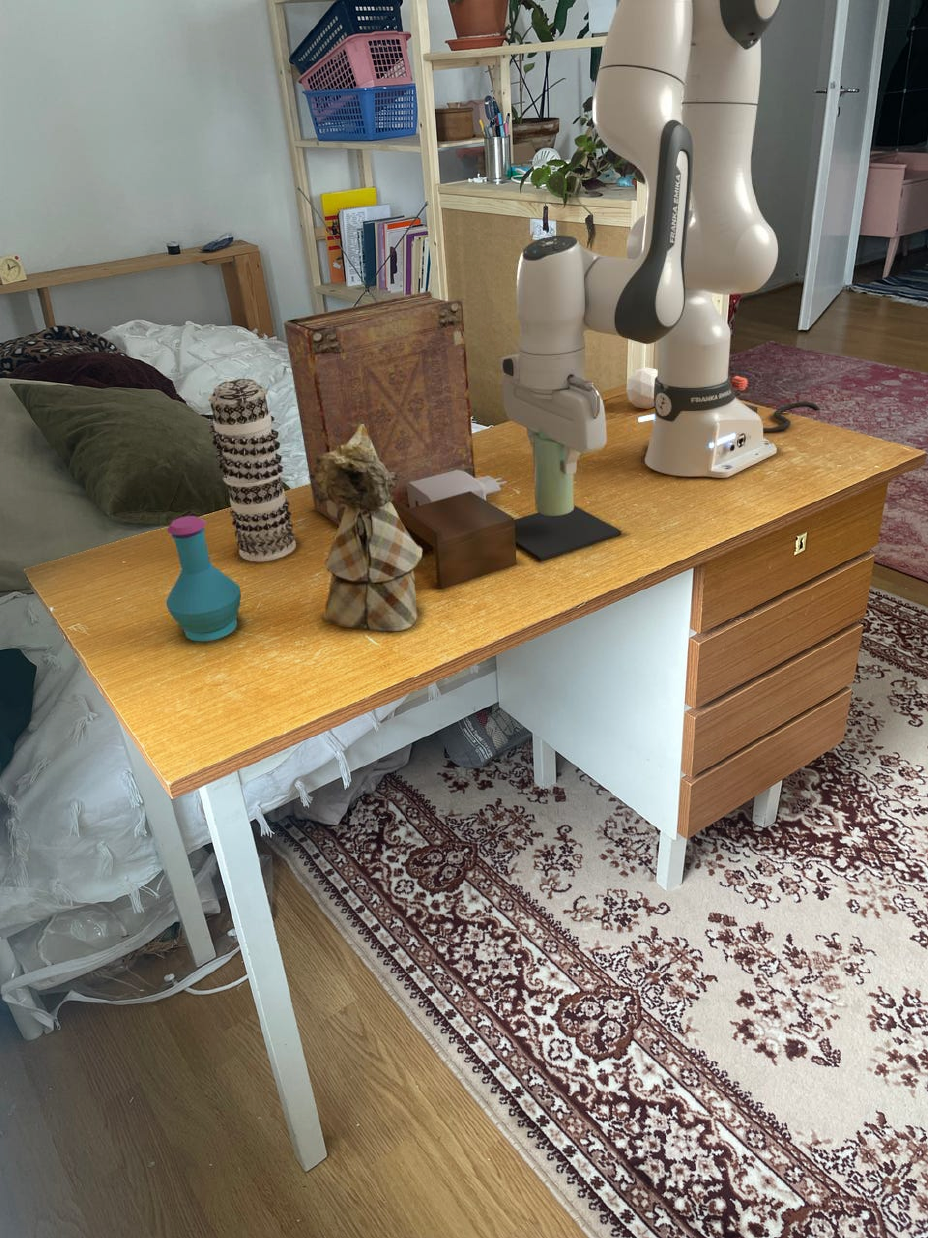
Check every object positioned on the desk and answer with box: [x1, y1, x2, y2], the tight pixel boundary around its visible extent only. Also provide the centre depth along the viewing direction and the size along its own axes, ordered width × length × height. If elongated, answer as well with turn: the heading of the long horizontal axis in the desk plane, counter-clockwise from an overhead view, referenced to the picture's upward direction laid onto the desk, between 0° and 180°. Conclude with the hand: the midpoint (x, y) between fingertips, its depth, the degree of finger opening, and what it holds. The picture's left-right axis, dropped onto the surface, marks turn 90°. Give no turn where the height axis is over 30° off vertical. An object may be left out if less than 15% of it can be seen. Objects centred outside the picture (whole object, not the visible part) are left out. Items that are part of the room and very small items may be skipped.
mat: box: [514, 505, 622, 562], centre depth 138 cm, size 14×13×1 cm
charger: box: [407, 470, 508, 508], centre depth 148 cm, size 5×9×15 cm
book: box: [283, 290, 476, 526], centre depth 146 cm, size 25×9×30 cm, turn 123°
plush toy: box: [308, 424, 423, 632], centre depth 116 cm, size 14×14×25 cm
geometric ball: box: [625, 366, 658, 410], centre depth 182 cm, size 8×8×8 cm
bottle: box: [533, 428, 575, 516], centre depth 132 cm, size 6×6×16 cm
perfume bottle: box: [165, 515, 242, 642], centre depth 118 cm, size 9×9×15 cm
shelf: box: [395, 491, 518, 590], centre depth 131 cm, size 12×12×8 cm
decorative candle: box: [207, 378, 297, 563], centre depth 134 cm, size 9×9×25 cm
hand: (553, 465), depth 133 cm, fingers closed on bottle, 5 cm apart
